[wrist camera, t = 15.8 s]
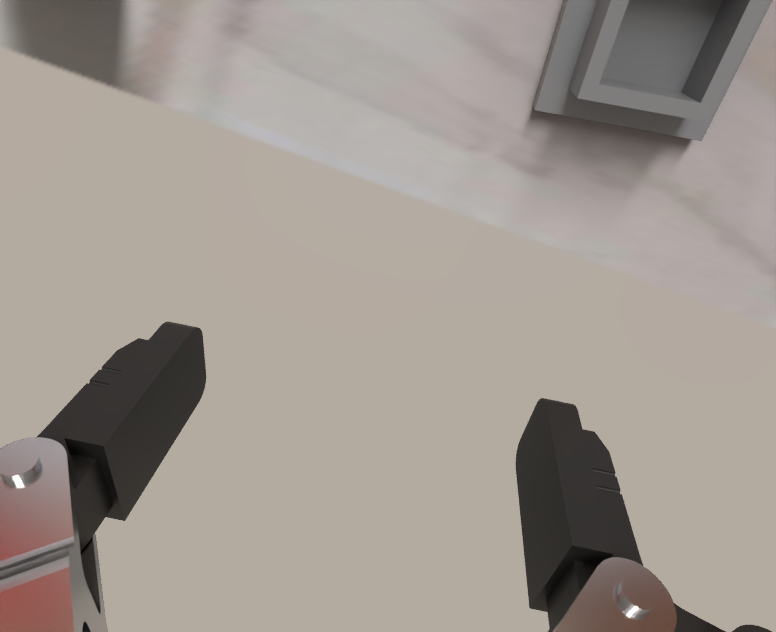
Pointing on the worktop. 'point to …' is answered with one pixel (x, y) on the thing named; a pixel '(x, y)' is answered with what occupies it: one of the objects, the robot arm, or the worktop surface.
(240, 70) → the worktop surface
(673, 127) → the housing
